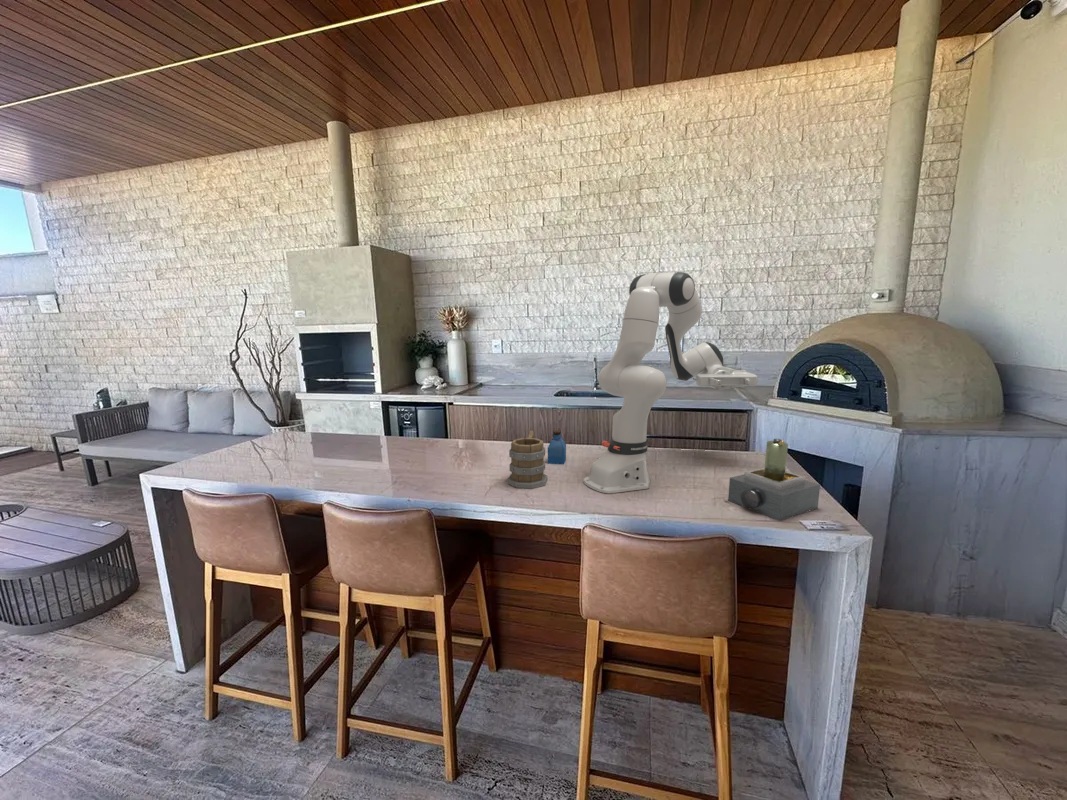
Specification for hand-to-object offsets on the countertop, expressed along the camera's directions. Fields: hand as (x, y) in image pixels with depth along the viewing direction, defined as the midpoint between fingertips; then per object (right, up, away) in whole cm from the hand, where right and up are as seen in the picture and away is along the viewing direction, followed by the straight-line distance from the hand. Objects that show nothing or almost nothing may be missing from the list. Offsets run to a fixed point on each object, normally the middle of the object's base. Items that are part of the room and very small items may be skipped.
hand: (733, 382), depth 149 cm
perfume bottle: (-59, -30, +20) cm, 69 cm away
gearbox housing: (+1, -36, -23) cm, 43 cm away
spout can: (+1, -29, -24) cm, 38 cm away
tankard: (-69, -33, +1) cm, 77 cm away
